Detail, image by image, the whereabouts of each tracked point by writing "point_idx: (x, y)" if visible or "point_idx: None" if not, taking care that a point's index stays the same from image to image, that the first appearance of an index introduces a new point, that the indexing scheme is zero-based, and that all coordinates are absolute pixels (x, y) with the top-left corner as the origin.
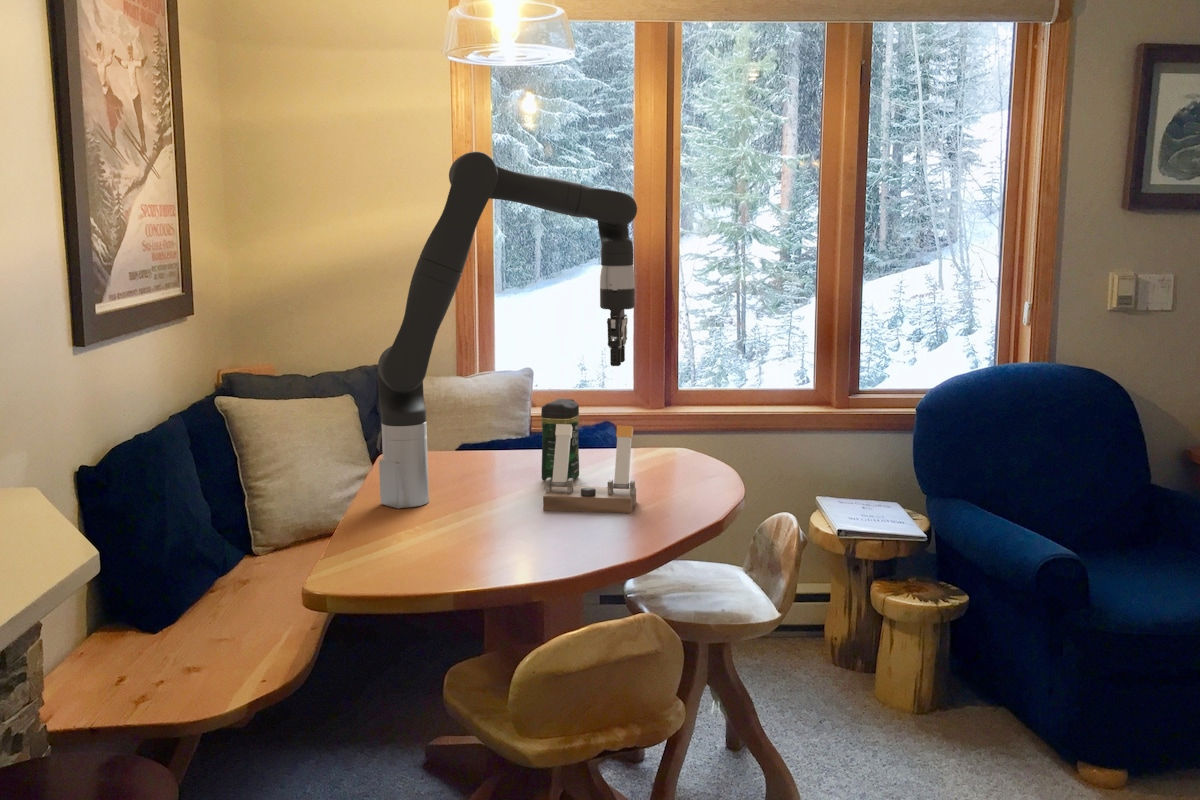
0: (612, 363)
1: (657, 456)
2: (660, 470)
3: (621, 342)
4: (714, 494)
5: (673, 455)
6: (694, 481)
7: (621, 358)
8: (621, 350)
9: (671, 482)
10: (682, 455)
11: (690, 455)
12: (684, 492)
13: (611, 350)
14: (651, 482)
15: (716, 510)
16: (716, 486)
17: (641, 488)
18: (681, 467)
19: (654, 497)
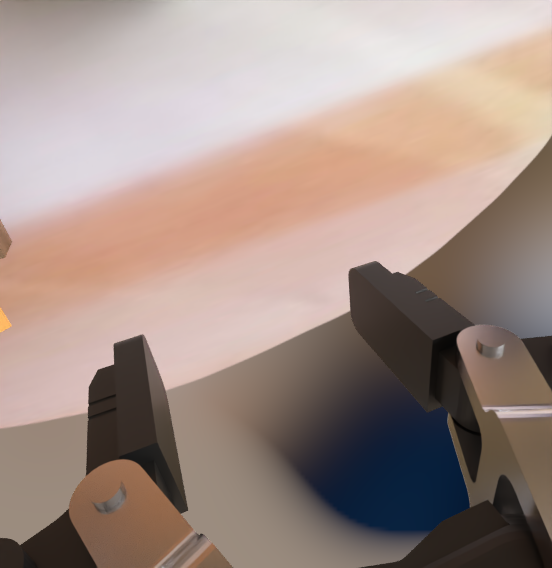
0: (99, 374)
1: (480, 121)
2: (346, 178)
3: (456, 411)
4: (170, 355)
5: (488, 155)
6: (264, 283)
7: (365, 323)
8: (401, 363)
9: (240, 243)
10: (488, 174)
11: (487, 191)
12: (161, 301)
13: (122, 450)
14: (225, 201)
15: (43, 405)
16: (235, 334)
17: (156, 201)
18: (380, 212)
19: (83, 262)
